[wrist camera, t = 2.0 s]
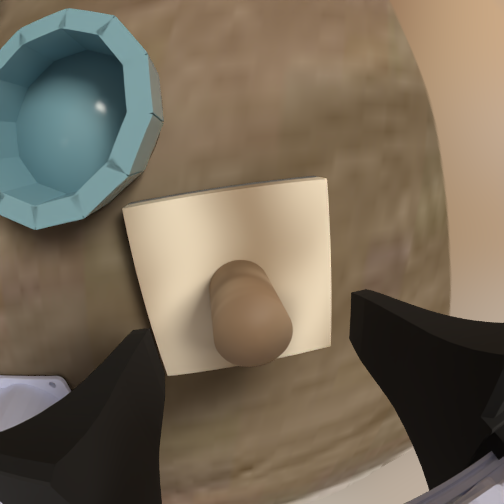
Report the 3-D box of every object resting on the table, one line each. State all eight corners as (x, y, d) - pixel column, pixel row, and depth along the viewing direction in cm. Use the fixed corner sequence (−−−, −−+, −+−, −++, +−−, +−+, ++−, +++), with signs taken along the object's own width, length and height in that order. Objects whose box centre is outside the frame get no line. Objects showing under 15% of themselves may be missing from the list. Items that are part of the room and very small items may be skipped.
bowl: (25, 222, 13) (-16, 244, 9) (9, 71, 10) (-33, 58, 7) (175, 189, 14) (165, 202, 10) (156, 23, 11) (144, -14, 7)
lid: (168, 364, 16) (164, 431, 12) (127, 204, 13) (92, 232, 9) (324, 336, 17) (361, 392, 13) (318, 176, 14) (372, 190, 10)
